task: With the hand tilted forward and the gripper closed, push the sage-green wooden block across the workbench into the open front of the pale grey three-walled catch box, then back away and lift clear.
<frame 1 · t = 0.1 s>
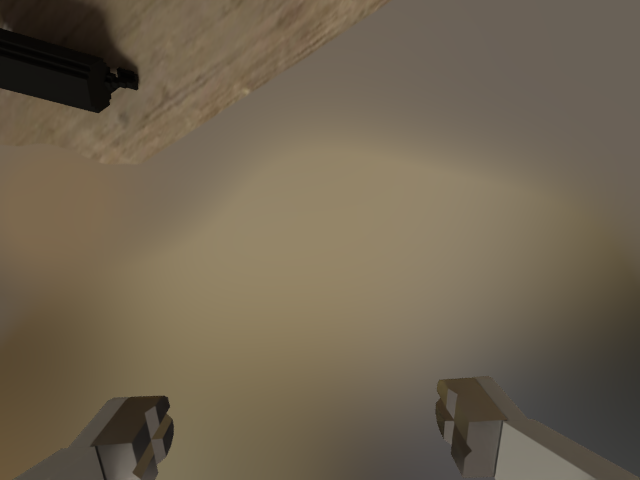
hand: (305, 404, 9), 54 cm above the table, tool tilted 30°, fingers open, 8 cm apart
security camera: (78, 62, 49), on the table
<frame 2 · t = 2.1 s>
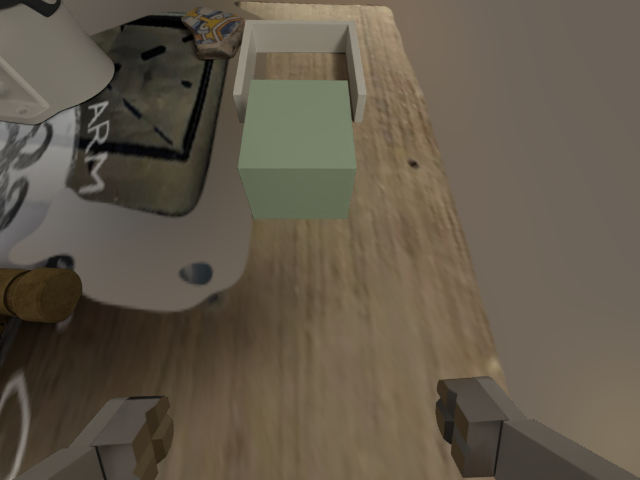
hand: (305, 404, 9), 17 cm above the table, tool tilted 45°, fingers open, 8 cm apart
catch box: (301, 82, 43), on the table
ceramic tile fragment: (219, 43, 48), on the table
block: (301, 176, 35), on the table
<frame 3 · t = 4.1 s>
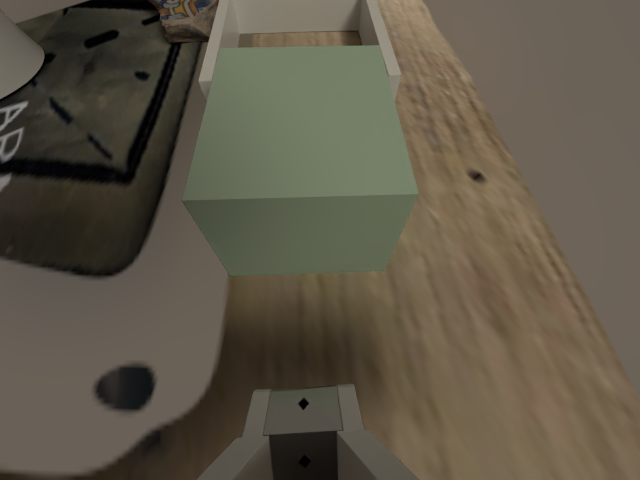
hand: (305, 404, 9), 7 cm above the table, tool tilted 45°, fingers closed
catch box: (301, 68, 31), on the table
ceramic tile fragment: (196, 25, 37), on the table
block: (306, 201, 22), on the table
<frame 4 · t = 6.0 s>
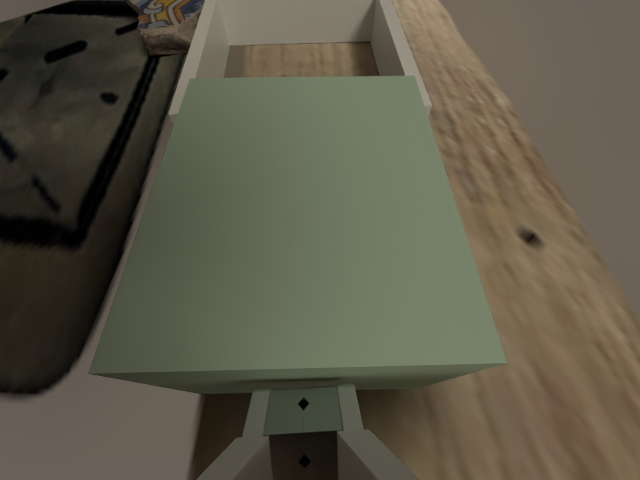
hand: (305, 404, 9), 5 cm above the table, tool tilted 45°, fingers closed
catch box: (302, 88, 26), on the table
ceramic tile fragment: (184, 33, 32), on the table
block: (309, 274, 17), on the table, touching gripper
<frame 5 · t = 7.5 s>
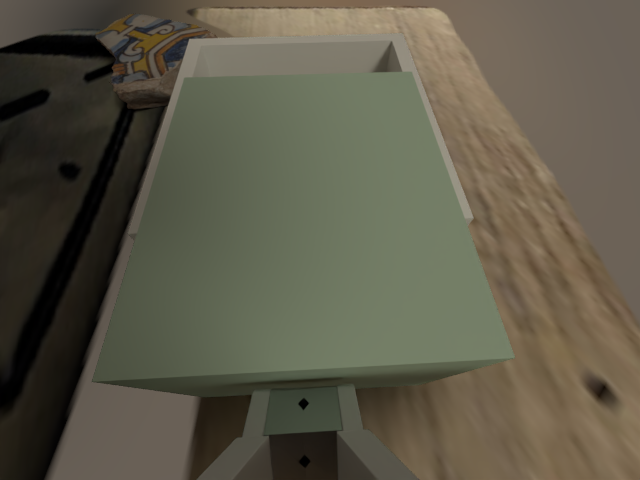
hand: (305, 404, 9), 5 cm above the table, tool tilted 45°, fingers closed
catch box: (302, 157, 21), on the table
ceramic tile fragment: (170, 76, 27), on the table
block: (309, 273, 17), on the table
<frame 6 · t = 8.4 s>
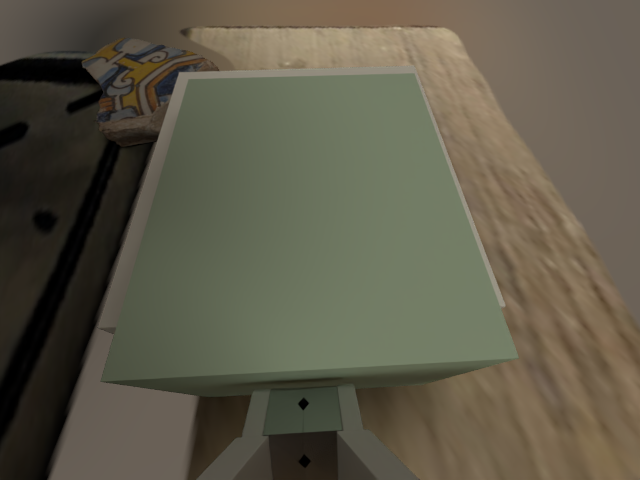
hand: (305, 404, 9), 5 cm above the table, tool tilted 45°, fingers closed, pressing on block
catch box: (304, 204, 19), on the table
ceramic tile fragment: (164, 105, 25), on the table
block: (311, 274, 17), on the table, touching gripper
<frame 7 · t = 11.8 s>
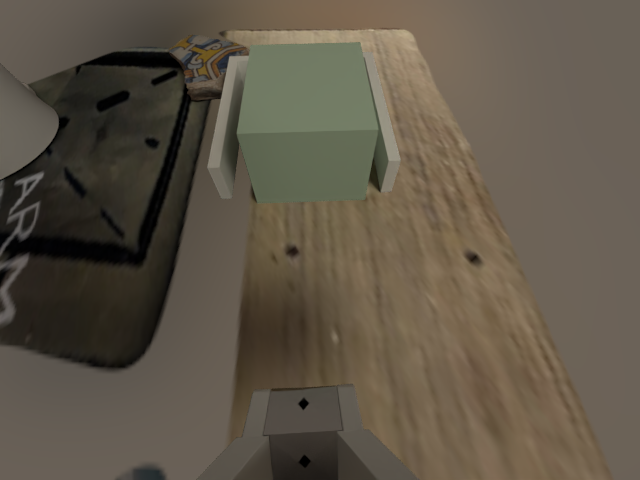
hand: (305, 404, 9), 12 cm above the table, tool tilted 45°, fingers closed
catch box: (304, 134, 32), on the table
ceramic tile fragment: (216, 79, 39), on the table
block: (309, 156, 31), on the table
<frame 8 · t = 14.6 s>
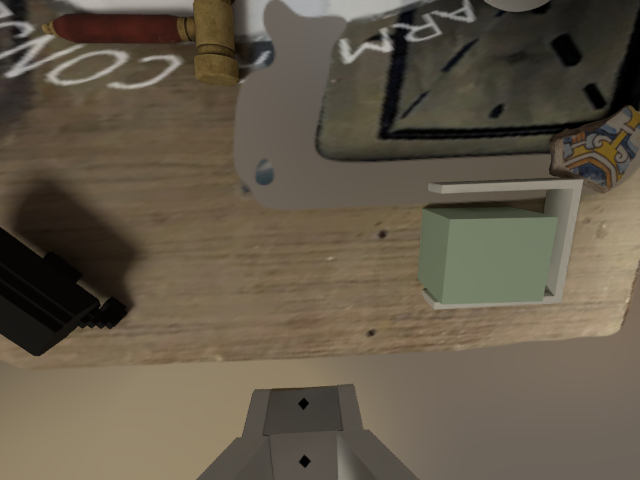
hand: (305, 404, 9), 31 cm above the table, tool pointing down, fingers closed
security camera: (69, 272, 40), on the table
catch box: (486, 239, 41), on the table
ceramic tile fragment: (585, 152, 39), on the table
gavel: (148, 36, 34), on the table
block: (462, 243, 41), on the table
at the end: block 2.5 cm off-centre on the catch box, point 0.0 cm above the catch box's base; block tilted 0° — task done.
